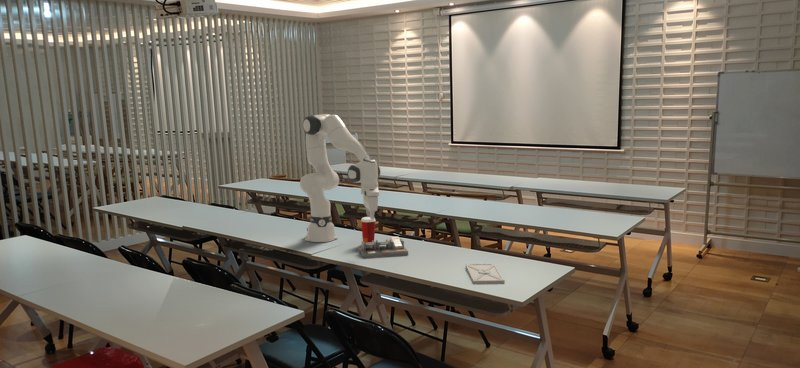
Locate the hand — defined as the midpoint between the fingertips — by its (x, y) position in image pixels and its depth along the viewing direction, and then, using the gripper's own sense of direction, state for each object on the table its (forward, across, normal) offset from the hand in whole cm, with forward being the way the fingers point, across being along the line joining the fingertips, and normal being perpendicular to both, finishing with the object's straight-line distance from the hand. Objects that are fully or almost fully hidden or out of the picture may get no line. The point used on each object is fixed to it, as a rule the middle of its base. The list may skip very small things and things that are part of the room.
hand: (370, 217), depth 299 cm
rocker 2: (+15, -4, +7) cm, 17 cm away
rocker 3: (+15, -4, +15) cm, 22 cm away
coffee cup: (+20, -21, +2) cm, 29 cm away
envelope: (+22, +46, +44) cm, 67 cm away
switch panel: (+20, -2, +7) cm, 21 cm away
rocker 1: (+15, -4, 0) cm, 16 cm away
